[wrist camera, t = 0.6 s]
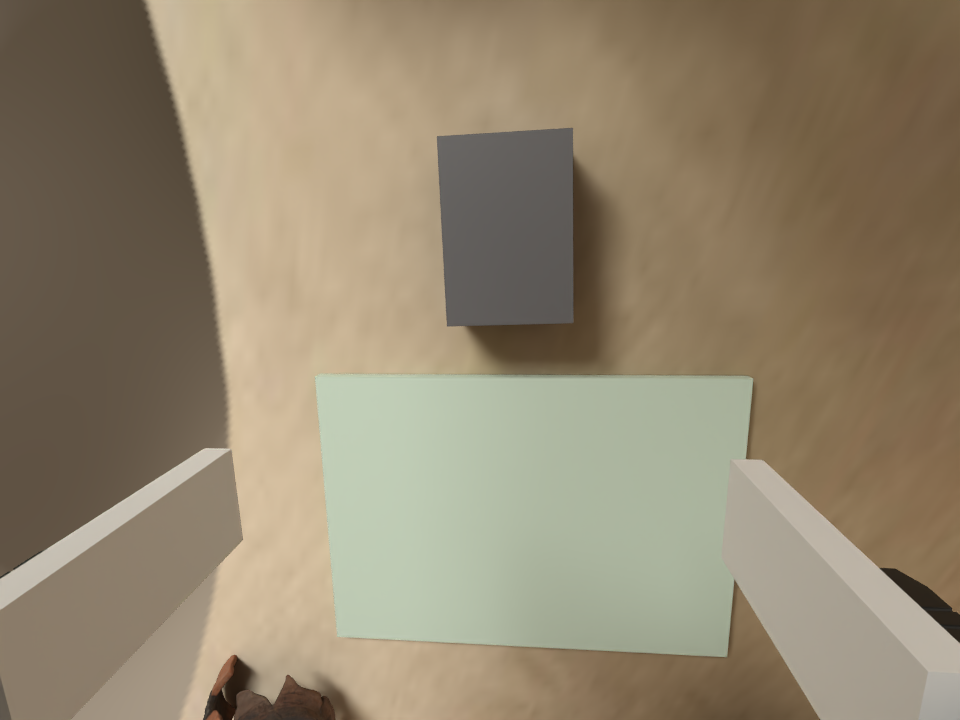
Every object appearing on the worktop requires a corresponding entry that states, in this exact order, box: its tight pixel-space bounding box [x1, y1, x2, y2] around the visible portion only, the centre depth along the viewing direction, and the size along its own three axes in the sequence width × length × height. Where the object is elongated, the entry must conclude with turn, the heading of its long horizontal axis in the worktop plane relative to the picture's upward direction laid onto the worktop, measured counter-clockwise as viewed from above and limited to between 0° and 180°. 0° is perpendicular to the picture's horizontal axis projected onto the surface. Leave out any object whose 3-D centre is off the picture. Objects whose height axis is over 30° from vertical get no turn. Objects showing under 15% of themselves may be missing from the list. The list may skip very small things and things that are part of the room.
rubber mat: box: [315, 374, 753, 657], centre depth 36 cm, size 20×28×1 cm
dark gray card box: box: [437, 128, 573, 326], centre depth 30 cm, size 10×7×5 cm
